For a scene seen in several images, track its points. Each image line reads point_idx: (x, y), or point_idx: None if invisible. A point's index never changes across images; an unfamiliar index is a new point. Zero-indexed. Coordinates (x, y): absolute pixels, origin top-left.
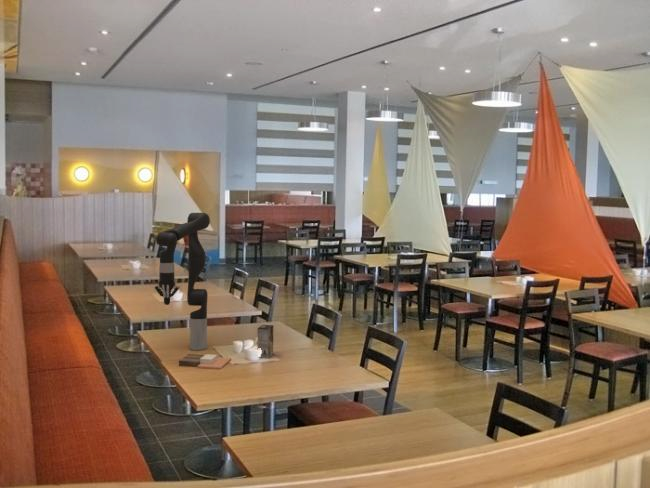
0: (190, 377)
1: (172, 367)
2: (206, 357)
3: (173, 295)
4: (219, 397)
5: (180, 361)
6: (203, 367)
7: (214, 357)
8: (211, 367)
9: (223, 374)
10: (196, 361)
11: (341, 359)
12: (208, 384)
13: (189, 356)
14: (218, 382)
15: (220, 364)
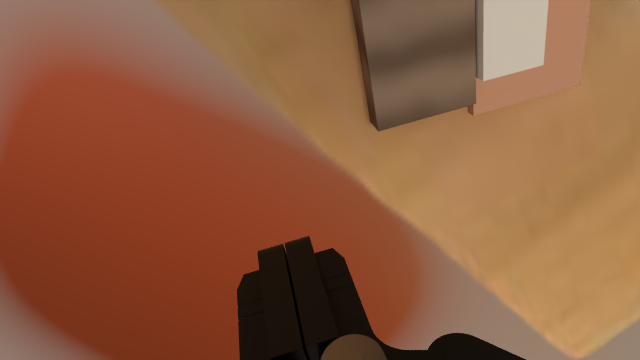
0: (486, 225)
1: (356, 156)
2: (508, 39)
3: (477, 345)
4: (617, 312)
5: (386, 128)
6: (498, 106)
7: (545, 8)
8: (536, 96)
9: (596, 138)
10: (466, 98)
11: None
12: (566, 251)
13: (389, 25)
14: (594, 221)
15: (570, 39)
